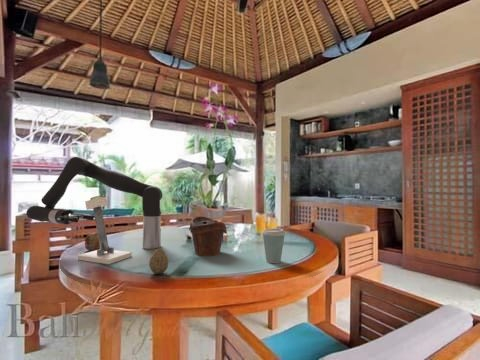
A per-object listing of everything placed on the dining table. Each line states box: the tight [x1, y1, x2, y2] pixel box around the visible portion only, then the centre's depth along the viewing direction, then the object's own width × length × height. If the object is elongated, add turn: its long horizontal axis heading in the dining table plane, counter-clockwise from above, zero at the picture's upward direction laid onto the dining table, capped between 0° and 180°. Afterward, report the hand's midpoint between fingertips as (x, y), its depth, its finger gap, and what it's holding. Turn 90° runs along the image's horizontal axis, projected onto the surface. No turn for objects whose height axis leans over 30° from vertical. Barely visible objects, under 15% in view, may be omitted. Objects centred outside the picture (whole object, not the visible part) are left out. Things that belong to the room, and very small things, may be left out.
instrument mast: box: [84, 194, 110, 252], centre depth 132 cm, size 8×5×26 cm, turn 70°
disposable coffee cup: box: [261, 227, 286, 264], centre depth 130 cm, size 11×11×15 cm
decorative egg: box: [149, 247, 169, 275], centre depth 110 cm, size 7×7×10 cm
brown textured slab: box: [84, 231, 100, 251], centre depth 148 cm, size 15×3×8 cm, turn 179°
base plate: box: [77, 246, 132, 265], centre depth 131 cm, size 18×14×4 cm
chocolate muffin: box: [188, 216, 228, 257], centre depth 144 cm, size 18×20×18 cm
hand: (85, 219), depth 135 cm, fingers open, 8 cm apart
